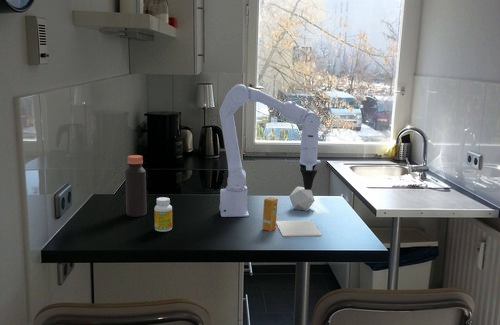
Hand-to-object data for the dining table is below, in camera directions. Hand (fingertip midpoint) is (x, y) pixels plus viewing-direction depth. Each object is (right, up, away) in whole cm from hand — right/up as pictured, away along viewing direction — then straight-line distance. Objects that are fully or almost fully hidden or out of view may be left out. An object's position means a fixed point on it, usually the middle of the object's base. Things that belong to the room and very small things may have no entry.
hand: (307, 186), depth 170 cm
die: (-1, -9, +9) cm, 13 cm away
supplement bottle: (-46, -13, -15) cm, 51 cm away
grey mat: (-5, -13, -13) cm, 18 cm away
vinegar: (-58, -10, -1) cm, 59 cm away
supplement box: (-13, -13, -14) cm, 23 cm away
